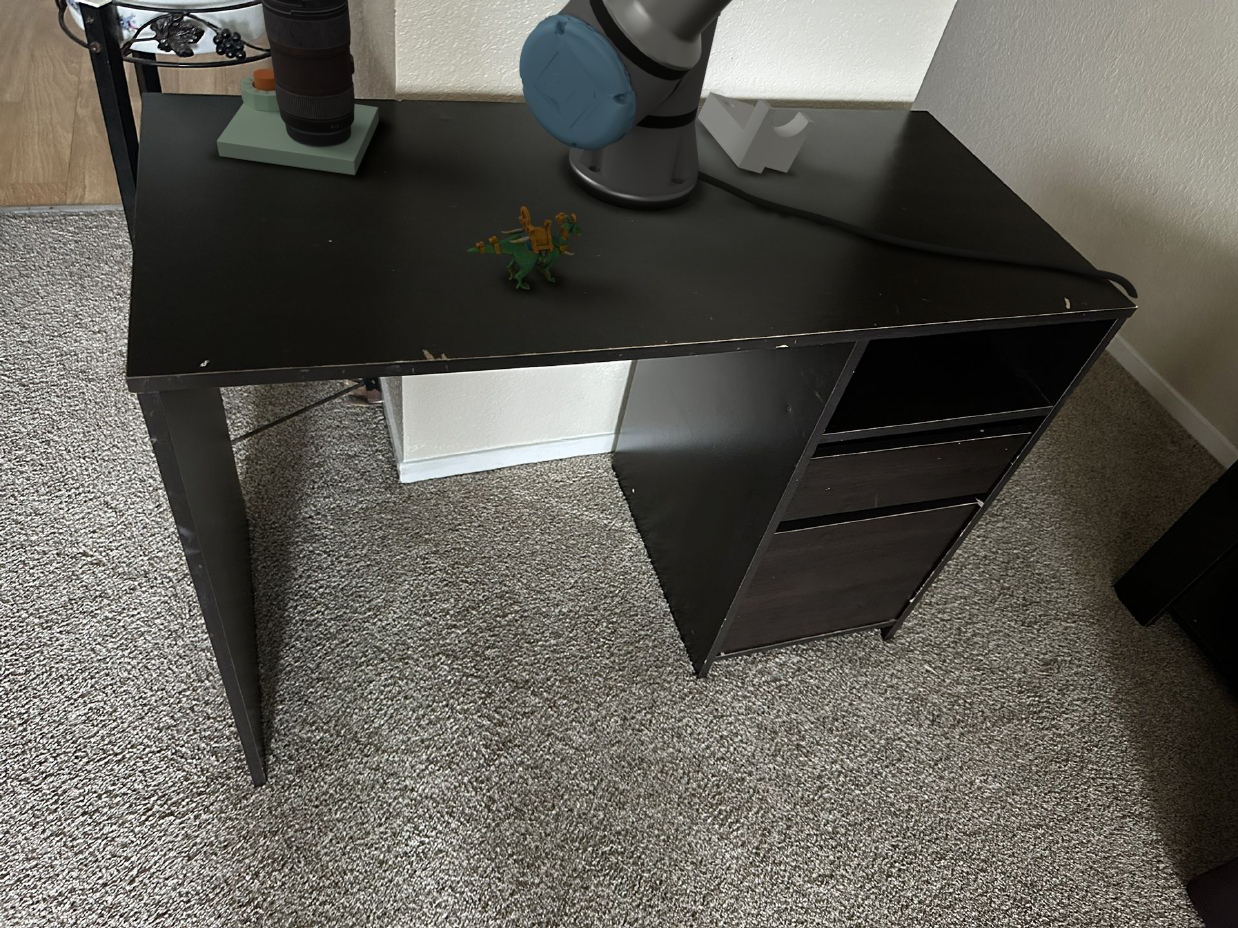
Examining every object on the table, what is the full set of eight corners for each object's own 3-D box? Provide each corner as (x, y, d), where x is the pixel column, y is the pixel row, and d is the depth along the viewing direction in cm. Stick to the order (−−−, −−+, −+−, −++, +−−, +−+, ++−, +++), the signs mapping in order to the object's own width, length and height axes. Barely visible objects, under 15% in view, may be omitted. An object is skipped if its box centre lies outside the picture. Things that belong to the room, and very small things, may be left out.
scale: (379, 119, 102) (378, 90, 99) (355, 175, 92) (353, 144, 90) (253, 101, 100) (249, 70, 98) (215, 156, 91) (209, 123, 88)
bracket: (783, 179, 109) (814, 123, 104) (738, 167, 105) (769, 108, 101) (740, 130, 117) (768, 76, 112) (697, 117, 113) (724, 61, 109)
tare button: (282, 84, 97) (281, 71, 96) (276, 94, 96) (274, 80, 94) (258, 81, 97) (256, 67, 96) (252, 91, 95) (250, 76, 94)
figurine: (583, 279, 86) (594, 205, 80) (472, 304, 80) (475, 226, 74) (568, 262, 87) (577, 188, 81) (458, 285, 82) (460, 208, 76)
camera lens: (296, 109, 97) (279, -38, 86) (367, 124, 97) (359, -21, 86) (266, 141, 91) (243, -13, 80) (341, 157, 91) (329, 6, 81)
